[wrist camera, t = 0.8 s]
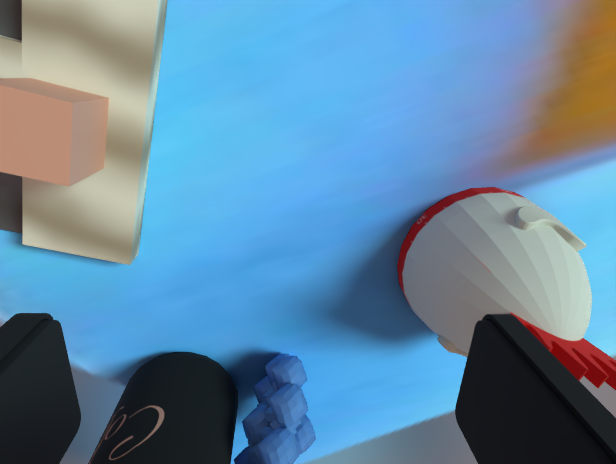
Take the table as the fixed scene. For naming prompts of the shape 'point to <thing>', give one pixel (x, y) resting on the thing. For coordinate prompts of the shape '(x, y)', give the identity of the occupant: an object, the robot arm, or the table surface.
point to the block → (51, 131)
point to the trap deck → (120, 124)
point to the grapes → (278, 416)
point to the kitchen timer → (501, 276)
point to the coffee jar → (173, 414)
